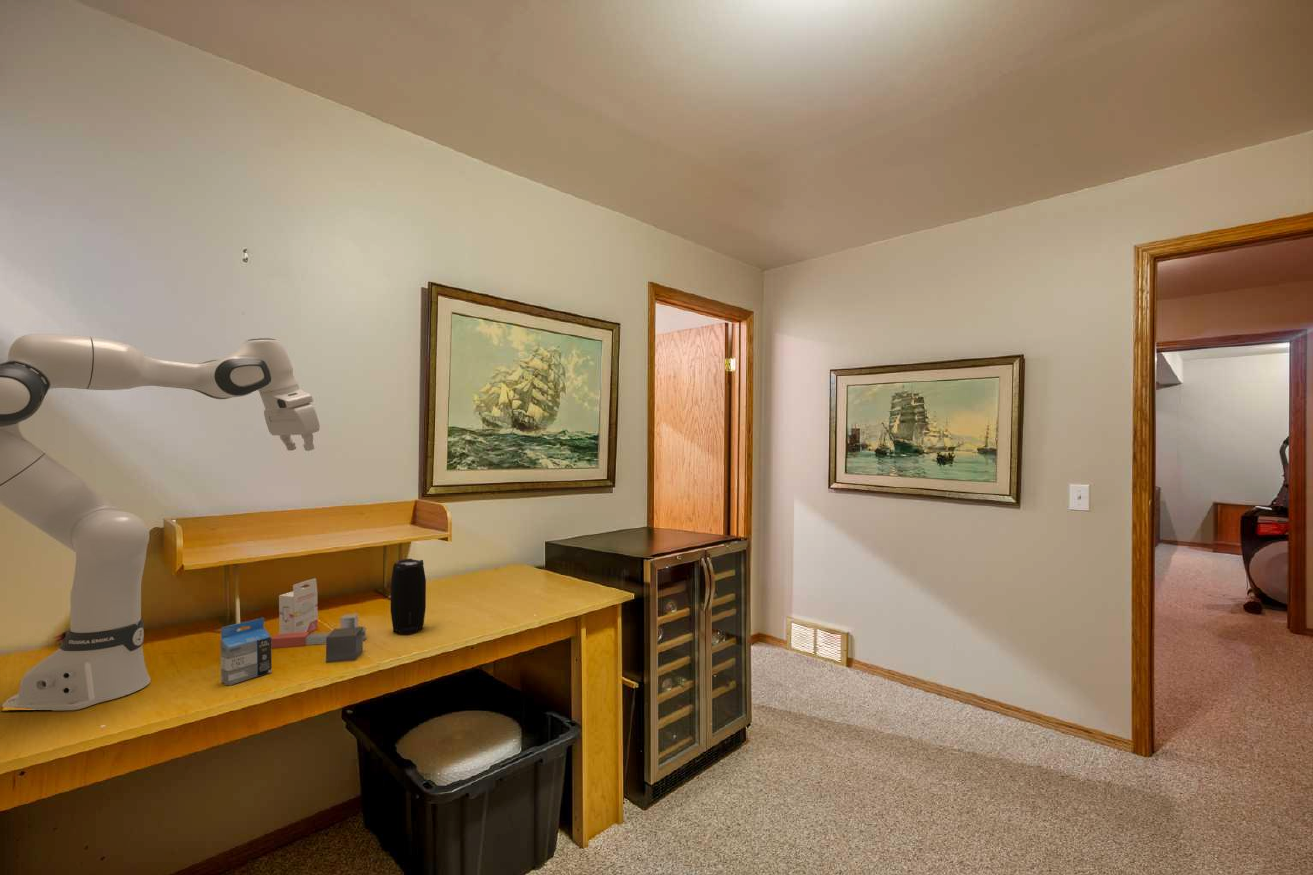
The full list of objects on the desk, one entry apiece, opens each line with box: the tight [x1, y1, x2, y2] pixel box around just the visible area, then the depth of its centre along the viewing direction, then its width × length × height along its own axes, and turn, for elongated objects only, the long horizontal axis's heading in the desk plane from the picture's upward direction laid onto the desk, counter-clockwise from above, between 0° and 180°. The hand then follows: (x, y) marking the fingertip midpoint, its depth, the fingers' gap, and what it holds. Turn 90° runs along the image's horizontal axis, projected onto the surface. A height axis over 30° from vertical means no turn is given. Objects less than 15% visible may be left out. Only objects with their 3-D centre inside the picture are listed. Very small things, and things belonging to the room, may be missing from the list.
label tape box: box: [220, 617, 273, 686], centre depth 132 cm, size 9×4×12 cm, turn 147°
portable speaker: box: [390, 558, 427, 636], centre depth 165 cm, size 9×9×20 cm
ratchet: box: [271, 613, 367, 649], centre depth 155 cm, size 22×8×6 cm, turn 104°
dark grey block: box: [325, 626, 364, 663], centre depth 145 cm, size 7×7×6 cm
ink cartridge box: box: [278, 577, 319, 634], centre depth 162 cm, size 9×5×15 cm, turn 168°
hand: (301, 450), depth 155 cm, fingers open, 8 cm apart
